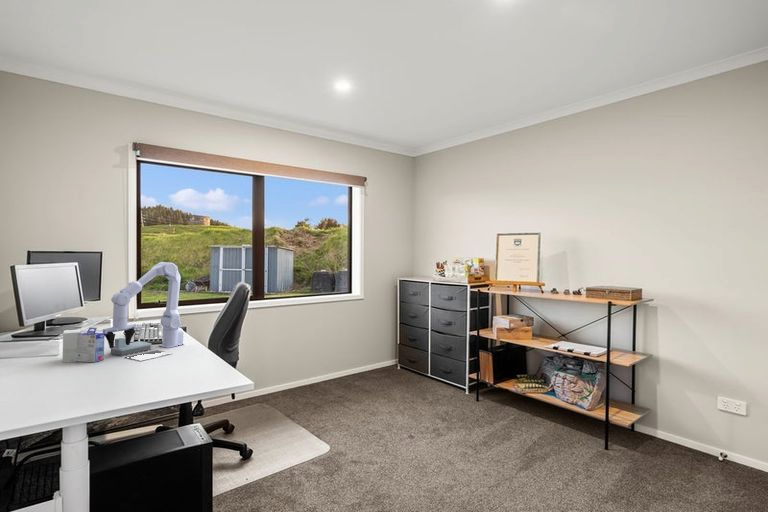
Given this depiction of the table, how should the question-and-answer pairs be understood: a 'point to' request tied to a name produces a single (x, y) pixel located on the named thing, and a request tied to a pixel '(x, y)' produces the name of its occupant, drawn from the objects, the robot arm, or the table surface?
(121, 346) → the lid
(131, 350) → the tub
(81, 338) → the ink cartridge box
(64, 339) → the small box
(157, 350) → the mat
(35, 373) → the table surface
